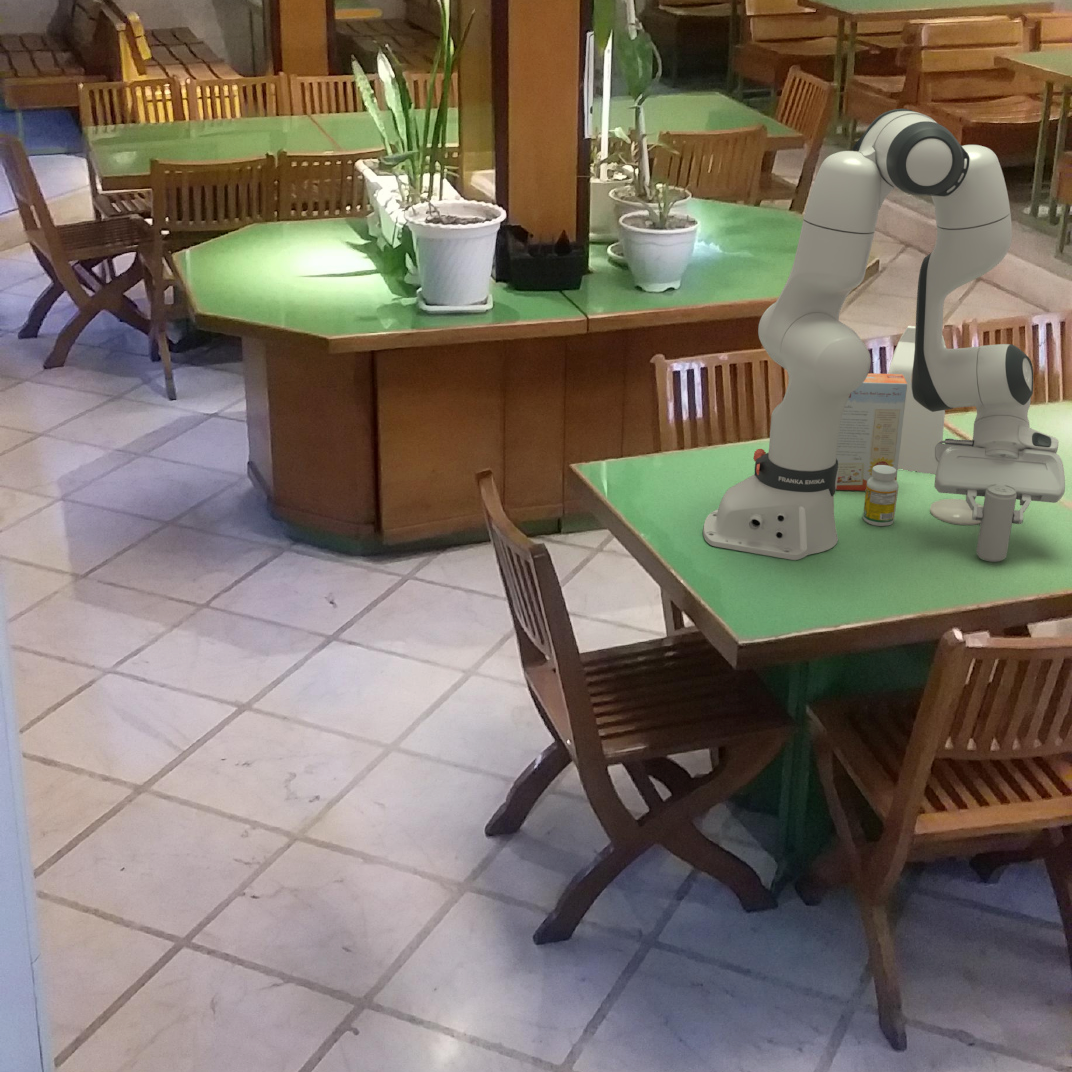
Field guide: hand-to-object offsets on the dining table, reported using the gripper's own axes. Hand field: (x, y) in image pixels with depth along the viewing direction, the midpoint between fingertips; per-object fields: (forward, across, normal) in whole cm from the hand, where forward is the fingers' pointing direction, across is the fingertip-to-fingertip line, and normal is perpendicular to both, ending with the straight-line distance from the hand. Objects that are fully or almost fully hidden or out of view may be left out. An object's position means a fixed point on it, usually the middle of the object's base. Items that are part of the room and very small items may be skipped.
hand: (997, 521), depth 235 cm
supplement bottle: (-4, -18, +14) cm, 23 cm away
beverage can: (+4, 0, +5) cm, 7 cm away
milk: (-25, -12, +36) cm, 45 cm away
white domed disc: (-8, -4, +18) cm, 20 cm away
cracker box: (-14, -22, +25) cm, 36 cm away
